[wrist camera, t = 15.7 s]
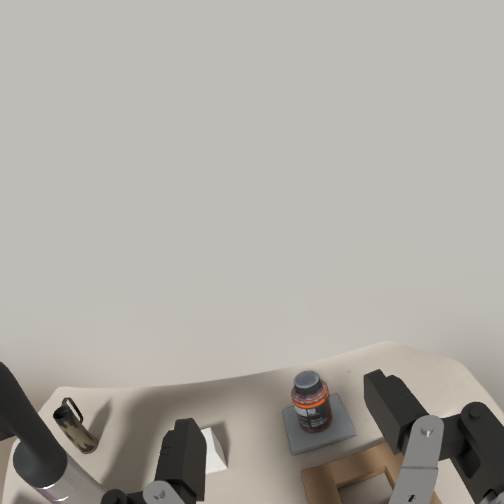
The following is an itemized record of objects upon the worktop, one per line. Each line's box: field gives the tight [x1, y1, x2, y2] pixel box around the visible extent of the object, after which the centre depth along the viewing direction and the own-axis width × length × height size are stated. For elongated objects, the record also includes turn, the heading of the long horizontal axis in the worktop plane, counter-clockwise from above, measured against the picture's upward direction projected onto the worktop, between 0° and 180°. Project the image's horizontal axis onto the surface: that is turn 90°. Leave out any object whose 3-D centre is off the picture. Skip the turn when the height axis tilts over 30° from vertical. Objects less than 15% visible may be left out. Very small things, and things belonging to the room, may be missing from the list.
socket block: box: [301, 441, 442, 504], centre depth 23 cm, size 16×16×2 cm
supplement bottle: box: [291, 371, 332, 433], centre depth 40 cm, size 6×6×11 cm
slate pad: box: [282, 393, 356, 455], centre depth 41 cm, size 11×11×1 cm
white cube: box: [201, 428, 227, 474], centre depth 37 cm, size 6×6×6 cm
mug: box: [53, 398, 98, 454], centre depth 42 cm, size 8×6×12 cm
